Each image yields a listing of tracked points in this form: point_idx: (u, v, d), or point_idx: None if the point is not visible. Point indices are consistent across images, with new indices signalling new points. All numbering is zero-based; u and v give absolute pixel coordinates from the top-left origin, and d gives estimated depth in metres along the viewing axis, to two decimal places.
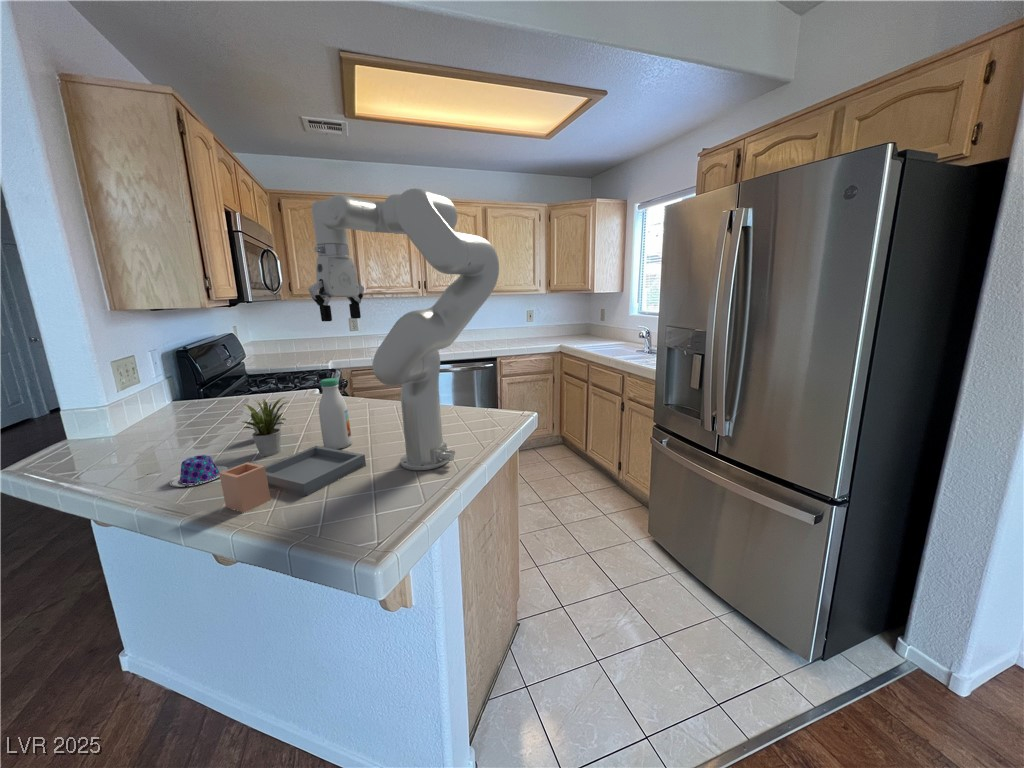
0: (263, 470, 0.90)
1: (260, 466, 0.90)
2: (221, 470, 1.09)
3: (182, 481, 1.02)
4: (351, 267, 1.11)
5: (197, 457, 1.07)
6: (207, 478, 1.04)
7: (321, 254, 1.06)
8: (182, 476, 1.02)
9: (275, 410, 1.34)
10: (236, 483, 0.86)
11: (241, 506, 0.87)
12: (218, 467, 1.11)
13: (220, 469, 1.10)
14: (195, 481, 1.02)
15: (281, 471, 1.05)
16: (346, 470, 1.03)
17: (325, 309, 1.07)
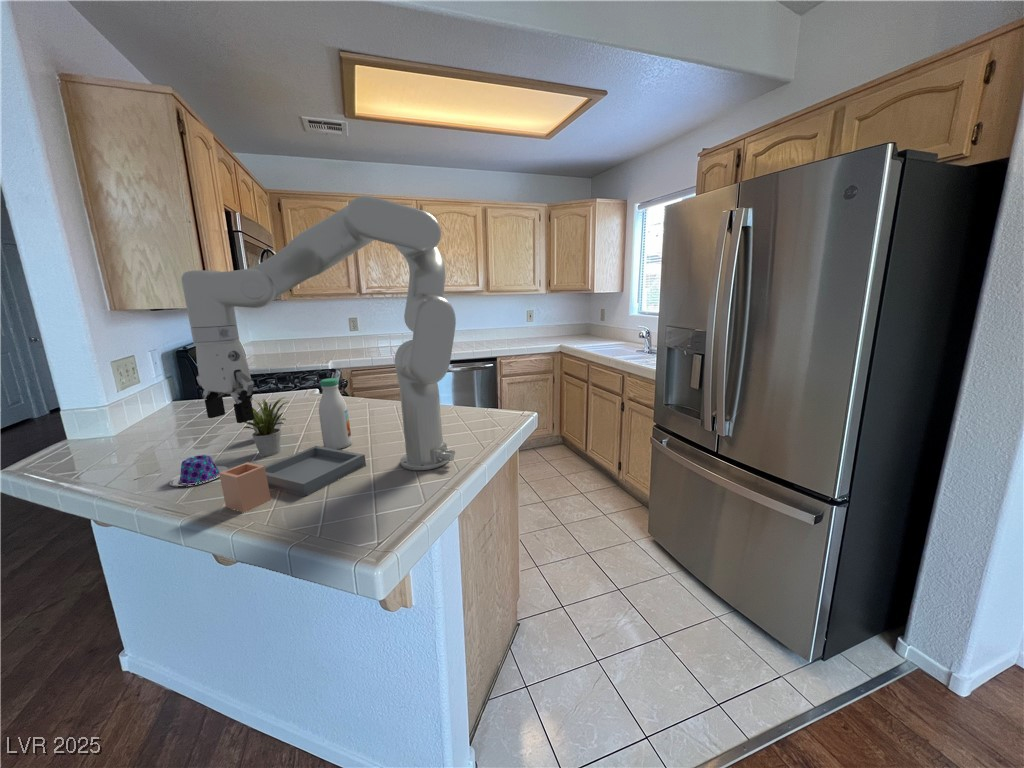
0: (263, 470, 0.90)
1: (260, 466, 0.90)
2: (221, 470, 1.09)
3: (182, 481, 1.02)
4: None
5: (197, 457, 1.07)
6: (207, 478, 1.04)
7: (227, 338, 0.81)
8: (182, 476, 1.02)
9: (275, 410, 1.34)
10: (236, 483, 0.86)
11: (241, 506, 0.87)
12: (218, 467, 1.11)
13: (220, 469, 1.10)
14: (195, 481, 1.02)
15: (281, 471, 1.05)
16: (346, 470, 1.03)
17: None
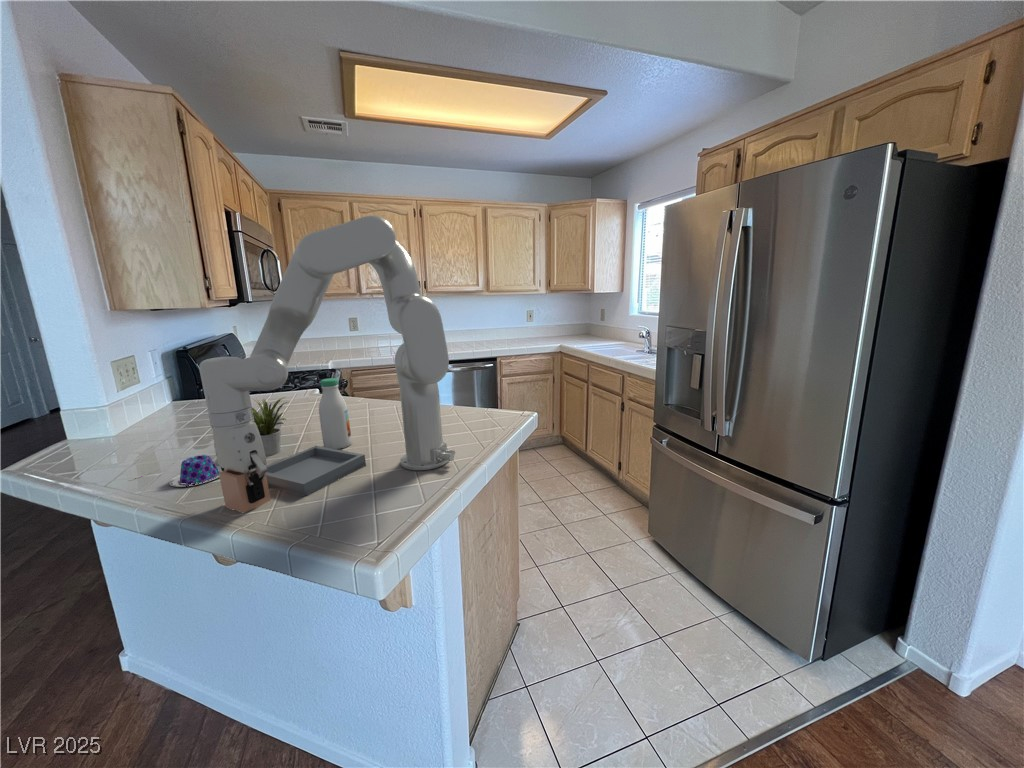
0: None
1: None
2: (221, 470, 1.09)
3: (181, 481, 1.02)
4: None
5: (197, 457, 1.07)
6: (206, 479, 1.03)
7: (243, 421, 0.85)
8: (181, 476, 1.02)
9: (275, 410, 1.34)
10: (235, 483, 0.86)
11: (241, 506, 0.87)
12: (219, 467, 1.11)
13: (220, 469, 1.10)
14: (193, 481, 1.02)
15: (281, 471, 1.05)
16: (346, 470, 1.03)
17: None
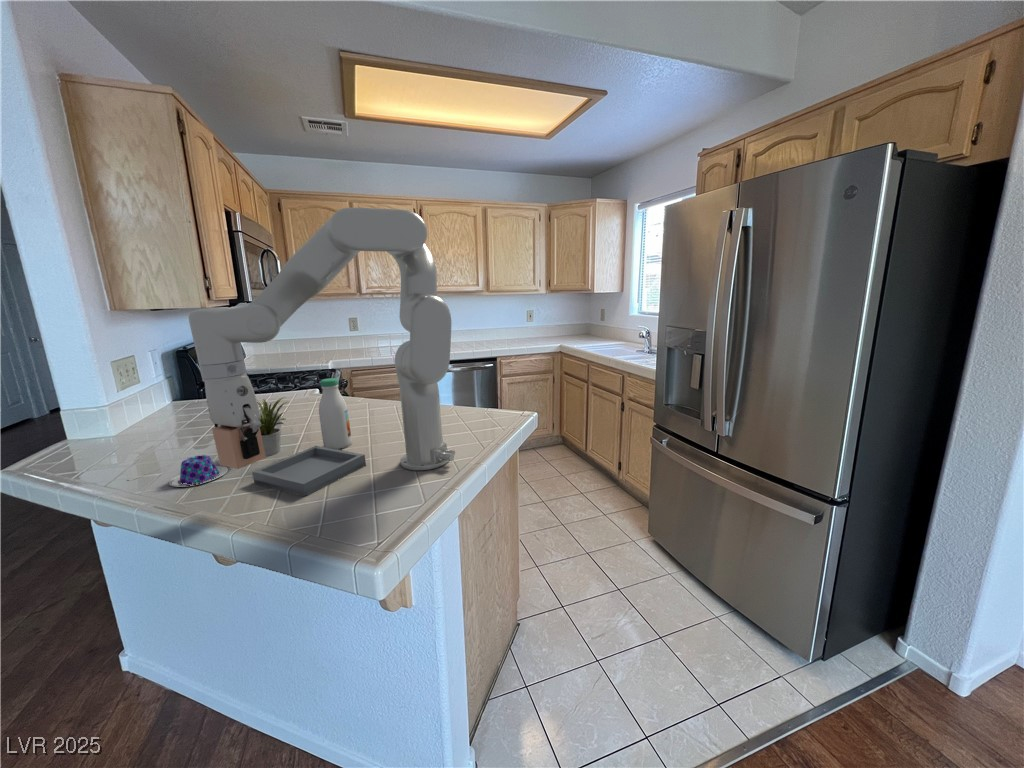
0: None
1: None
2: (221, 471, 1.09)
3: (181, 481, 1.02)
4: None
5: (198, 457, 1.06)
6: (204, 479, 1.03)
7: (235, 374, 0.83)
8: (181, 476, 1.02)
9: (275, 410, 1.34)
10: (229, 438, 0.84)
11: (235, 461, 0.85)
12: (219, 467, 1.11)
13: (221, 470, 1.09)
14: (192, 482, 1.02)
15: (281, 471, 1.05)
16: (346, 470, 1.03)
17: None
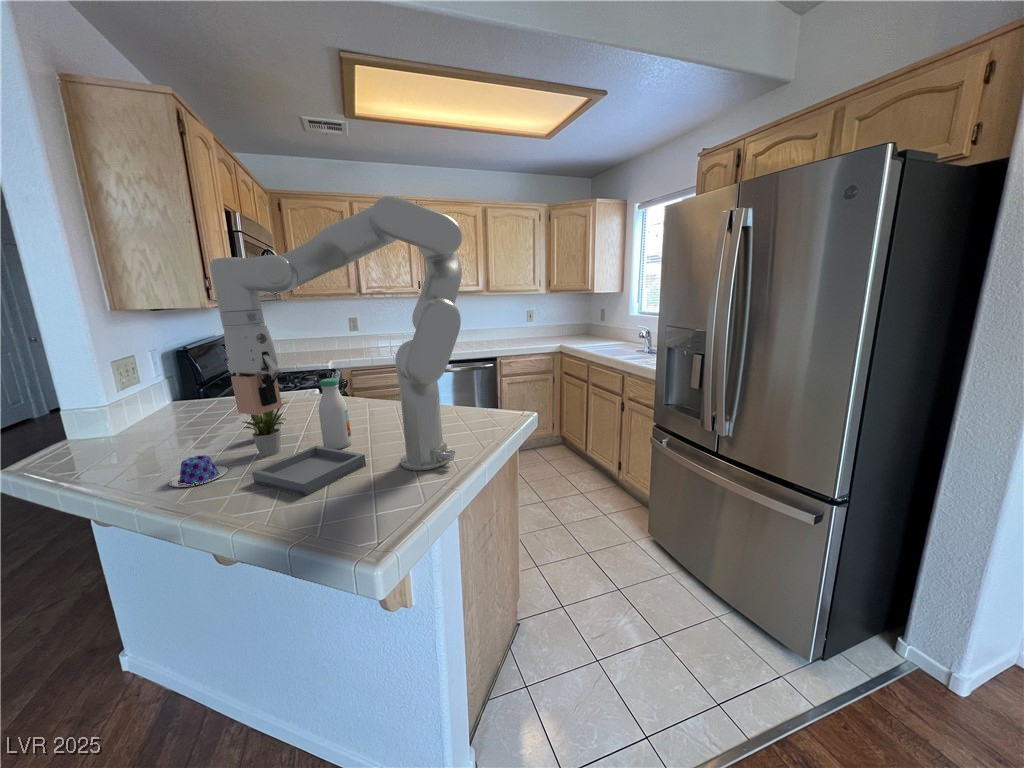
0: None
1: None
2: (221, 471, 1.09)
3: (180, 481, 1.02)
4: None
5: (198, 457, 1.06)
6: (203, 479, 1.03)
7: (254, 322, 0.86)
8: (180, 476, 1.02)
9: (275, 410, 1.34)
10: (248, 384, 0.87)
11: (254, 408, 0.88)
12: (220, 468, 1.10)
13: (221, 470, 1.09)
14: (191, 482, 1.02)
15: (281, 471, 1.05)
16: (346, 470, 1.03)
17: None
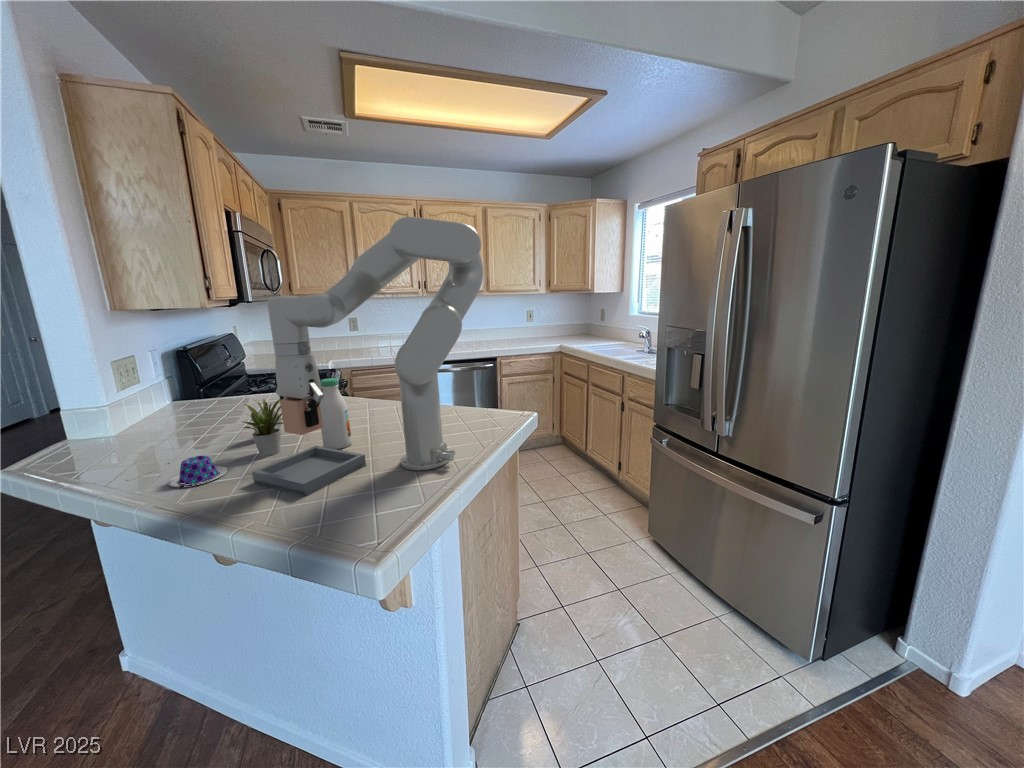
0: None
1: None
2: (221, 472, 1.08)
3: (179, 481, 1.02)
4: None
5: (198, 457, 1.06)
6: (202, 480, 1.03)
7: (303, 353, 0.97)
8: (180, 476, 1.02)
9: (275, 410, 1.34)
10: (295, 407, 0.97)
11: (299, 428, 0.98)
12: (220, 468, 1.10)
13: (221, 470, 1.09)
14: (190, 482, 1.02)
15: (281, 471, 1.05)
16: (346, 470, 1.03)
17: None
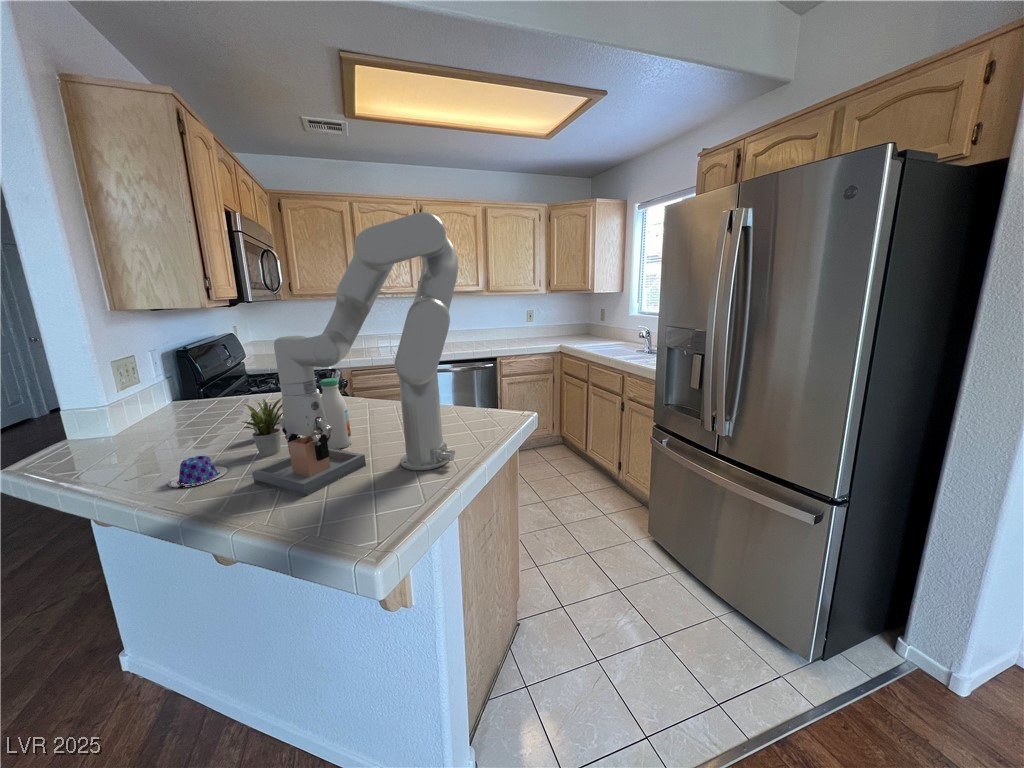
0: None
1: None
2: (221, 472, 1.08)
3: (179, 481, 1.02)
4: None
5: (198, 457, 1.06)
6: (201, 480, 1.03)
7: (310, 392, 0.99)
8: (179, 476, 1.02)
9: (275, 410, 1.34)
10: (303, 450, 1.00)
11: (308, 471, 1.01)
12: (221, 468, 1.10)
13: (221, 471, 1.09)
14: (189, 482, 1.02)
15: (281, 471, 1.05)
16: (346, 470, 1.03)
17: None
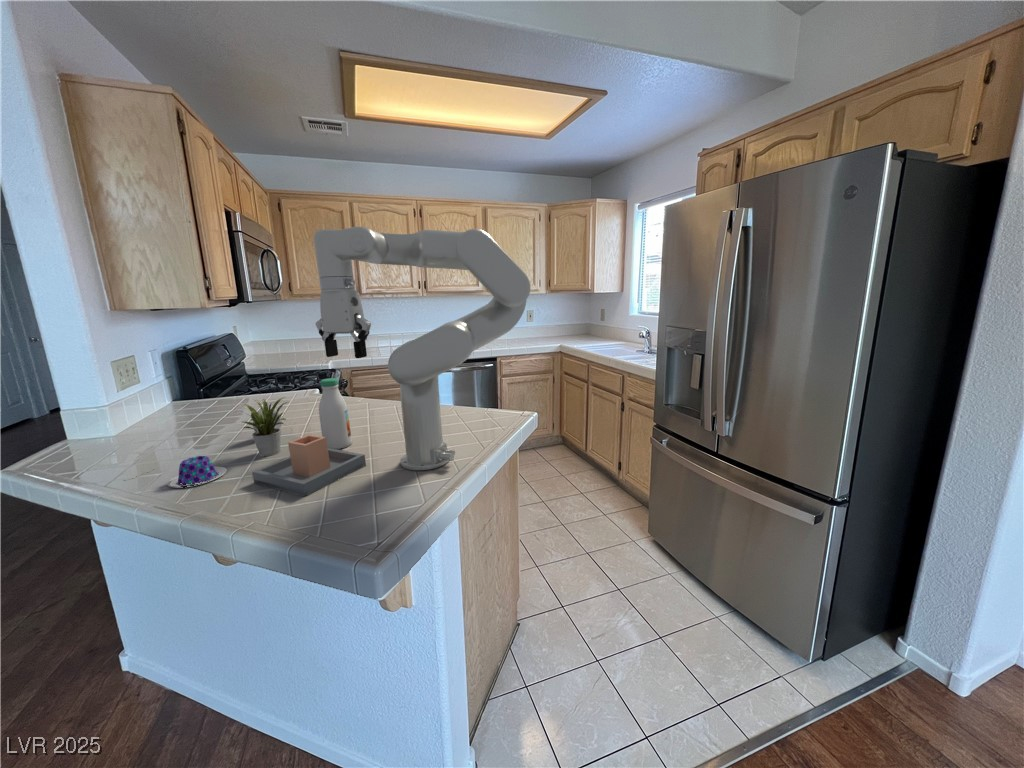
0: (325, 440, 1.04)
1: (322, 437, 1.04)
2: (220, 473, 1.07)
3: (178, 481, 1.02)
4: None
5: (199, 457, 1.06)
6: (199, 481, 1.02)
7: (349, 287, 0.98)
8: (178, 476, 1.02)
9: (275, 410, 1.34)
10: (303, 450, 1.00)
11: (308, 471, 1.01)
12: (221, 469, 1.10)
13: (221, 471, 1.08)
14: (187, 483, 1.01)
15: (281, 471, 1.05)
16: (346, 470, 1.03)
17: None
